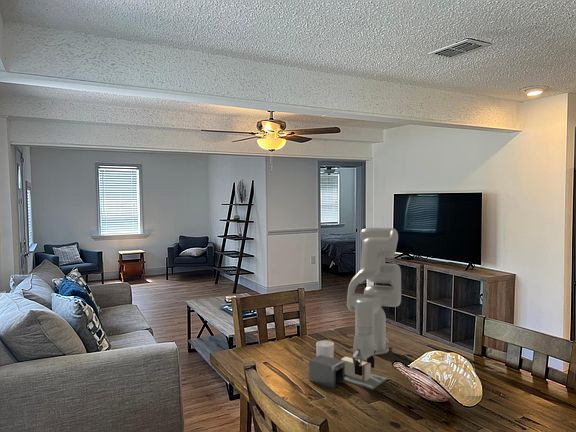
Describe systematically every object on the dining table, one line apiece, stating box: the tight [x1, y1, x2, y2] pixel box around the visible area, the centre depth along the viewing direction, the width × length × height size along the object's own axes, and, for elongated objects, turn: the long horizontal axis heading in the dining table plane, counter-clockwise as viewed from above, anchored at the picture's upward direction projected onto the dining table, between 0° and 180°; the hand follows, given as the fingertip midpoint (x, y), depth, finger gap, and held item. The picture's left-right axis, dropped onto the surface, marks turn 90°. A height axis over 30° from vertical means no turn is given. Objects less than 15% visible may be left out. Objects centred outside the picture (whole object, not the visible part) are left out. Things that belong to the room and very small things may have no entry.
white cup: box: [315, 340, 335, 359], centre depth 193 cm, size 8×8×10 cm
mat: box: [345, 373, 388, 391], centre depth 178 cm, size 12×14×1 cm
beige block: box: [339, 356, 372, 381], centre depth 180 cm, size 4×12×6 cm, turn 50°
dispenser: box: [308, 355, 346, 390], centre depth 176 cm, size 8×12×9 cm, turn 50°
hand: (364, 370), depth 178 cm, fingers open, 9 cm apart
